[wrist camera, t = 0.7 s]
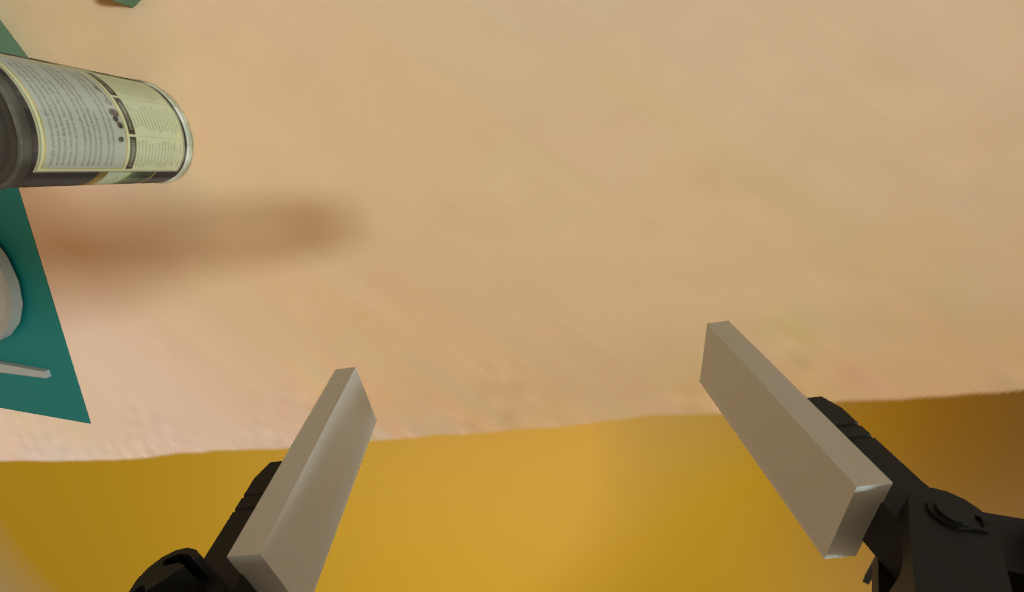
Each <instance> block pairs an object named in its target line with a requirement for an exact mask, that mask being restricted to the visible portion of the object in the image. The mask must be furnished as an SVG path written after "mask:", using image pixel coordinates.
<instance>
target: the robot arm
mask: <svg viewBox="0 0 1024 592" xmlns="http://www.w3.org/2000/svg"><path fill="white" fill-rule="evenodd" d="M700 383H701V384H702V386H703V387H704V388H705V390H706V391H707V393H708V394H709V396H710V397H711V398H712V400H713V401H714V403H715V404H716V406H717V407H718V408H719V410H720V411H721V413H722V414H723V415H724V417H725V418H726V420H727V421H728V422H729V424H730V425H731V427H732V428H733V430H734V431H735V433H736V434H737V435H738V437H739V438H740V439H741V441H742V442H743V444H744V445H745V447H746V448H747V450H748V451H749V452H750V454H751V455H752V457H753V458H754V459H755V461H756V462H757V464H758V465H759V467H760V468H761V469H762V471H763V472H764V474H765V475H766V476H767V478H768V480H769V481H770V482H771V484H772V485H773V486H774V488H775V489H776V491H777V492H778V494H779V495H780V497H781V498H782V499H783V501H784V502H785V504H786V505H787V507H788V508H789V509H790V511H791V512H792V514H793V515H794V517H795V518H796V519H797V521H798V522H799V524H800V525H801V526H802V528H803V529H804V531H805V532H806V534H807V535H808V536H809V538H810V539H811V541H812V542H813V544H814V545H815V546H816V548H817V549H818V551H819V552H820V553H821V555H822V556H823V558H824V559H829V558H839V557H847V556H856V554H857V552H858V550H859V548H860V546H861V544H862V542H863V541H864V542H865V544H866V545H867V546H868V547H869V549H870V550H871V551H872V552H873V553H874V555H875V557H874V559H873V561H872V563H871V565H870V567H869V568H868V570H867V572H866V574H865V577H864V579H863V582H865V583H867V584H869V583H870V581H871V579H872V592H1024V519H1020V518H1014V517H1008V516H1002V515H996V514H990V513H985V512H982V511H981V510H979V509H978V508H977V507H975V506H973V505H972V504H971V503H969V502H968V501H966V500H964V499H963V498H960V497H958V496H956V495H953V494H951V493H949V492H947V491H943V490H938V489H935V488H929V487H928V486H927V485H926V484H924V483H923V482H922V481H921V480H920V479H919V478H918V477H917V476H915V474H913V473H912V472H911V471H910V470H909V469H908V468H907V467H906V466H905V465H904V464H902V463H901V462H900V461H899V460H898V459H897V458H896V457H895V456H894V455H893V454H892V453H890V452H889V451H888V450H887V449H886V448H885V447H884V446H883V445H882V444H881V443H880V442H878V441H877V440H876V439H875V438H872V437H871V434H870V433H869V432H867V431H866V430H865V429H864V428H863V427H862V426H859V425H858V422H857V421H855V420H854V419H853V418H852V417H851V416H850V415H849V414H848V413H847V412H846V411H844V410H843V409H842V408H841V407H839V406H837V405H836V404H834V403H832V402H830V401H828V400H827V399H825V398H823V397H821V396H820V397H812V398H806V397H805V396H804V395H803V394H802V393H801V392H800V391H799V390H798V389H797V388H796V387H795V386H794V385H793V384H792V383H791V382H790V381H789V380H788V379H787V378H786V377H785V376H784V375H783V374H782V373H781V372H780V371H779V370H778V369H777V368H776V367H775V366H774V365H773V364H772V363H771V362H770V361H769V360H768V359H767V358H766V357H765V356H764V355H763V354H762V353H761V352H760V351H759V350H758V349H757V348H756V347H755V346H754V345H753V344H751V343H750V342H749V341H748V340H747V339H746V338H745V337H744V336H743V335H742V334H741V333H740V332H739V331H738V330H737V329H736V328H735V327H734V326H733V325H732V324H731V323H730V322H729V321H723V322H715V323H707V330H706V338H705V346H704V353H703V361H702V369H701V376H700ZM376 421H377V420H376V418H375V415H374V413H373V410H372V407H371V405H370V402H369V400H368V397H367V395H366V392H365V390H364V387H363V385H362V382H361V380H360V377H359V375H358V372H357V370H356V367H353V368H345V369H337V370H335V371H334V373H333V375H332V377H331V378H330V380H329V382H328V384H327V385H326V387H325V389H324V390H323V392H322V394H321V396H320V397H319V399H318V401H317V402H316V404H315V406H314V408H313V409H312V411H311V413H310V414H309V416H308V418H307V420H306V421H305V423H304V425H303V427H302V428H301V430H300V432H299V433H298V435H297V437H296V439H295V440H294V442H293V444H292V445H291V447H290V449H289V451H288V452H287V454H286V456H285V457H284V459H283V461H278V462H271V463H269V464H268V465H267V466H266V467H265V468H264V469H263V470H262V471H261V472H260V473H259V474H258V475H257V476H256V477H255V478H254V480H253V481H252V483H251V485H250V486H249V488H248V489H247V491H246V492H245V494H244V498H242V499H241V500H240V502H239V504H238V505H237V507H236V508H235V512H233V513H232V515H231V516H230V518H229V520H228V521H227V523H226V524H225V526H224V527H223V529H222V531H221V532H220V534H219V535H218V537H217V539H216V540H215V542H214V543H213V545H212V547H211V548H210V550H209V551H208V553H207V555H206V556H205V558H203V557H202V556H201V555H200V554H199V553H198V551H197V550H195V549H191V548H184V549H180V550H176V551H174V552H172V553H170V554H168V555H166V556H164V557H162V558H161V559H160V560H158V561H157V562H155V563H154V564H153V565H151V566H150V567H149V568H148V569H147V570H146V571H145V572H144V573H143V574H142V575H141V576H140V577H139V578H138V579H137V581H136V582H135V584H134V585H133V587H132V588H131V590H130V591H129V592H314V591H315V588H316V585H317V582H318V580H319V577H320V574H321V571H322V569H323V566H324V563H325V561H326V558H327V555H328V552H329V550H330V547H331V544H332V541H333V539H334V536H335V533H336V530H337V528H338V525H339V522H340V520H341V517H342V514H343V511H344V509H345V506H346V503H347V500H348V498H349V495H350V492H351V489H352V487H353V484H354V481H355V479H356V476H357V473H358V470H359V468H360V465H361V462H362V459H363V457H364V454H365V451H366V448H367V446H368V443H369V440H370V438H371V435H372V432H373V429H374V427H375V424H376Z"/></svg>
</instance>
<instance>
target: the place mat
mask: <svg viewBox="0 0 1024 592" xmlns="http://www.w3.org/2000/svg"><path fill="white" fill-rule="evenodd" d="M0 408H5V409H11V410H16V411H22V412H28V413H33V414H39V415H45V416H50V417H56V418H62V419H67V420H73V421H79V422H84V423H90V424H91V422H90V419H89V416H88V412H87V409H86V406H85V403H84V399H83V396H82V393H81V390H80V386H79V383H78V380H77V377H76V374H75V370H74V367H73V364H72V361H71V357H70V354H69V351H68V348H67V344H66V341H65V338H64V335H63V331H62V328H61V325H60V322H59V318H58V315H57V312H56V309H55V305H54V302H53V299H52V296H51V292H50V289H49V286H48V283H47V279H46V276H45V273H44V270H43V266H42V263H41V260H40V257H39V253H38V250H37V247H36V244H35V240H34V237H33V234H32V231H31V227H30V224H29V221H28V218H27V214H26V211H25V208H24V205H23V201H22V198H21V195H20V192H19V188H18V187H17V188H6V189H0Z"/></svg>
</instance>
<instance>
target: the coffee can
mask: <svg viewBox="0 0 1024 592" xmlns="http://www.w3.org/2000/svg"><path fill="white" fill-rule="evenodd" d="M192 152H193V142H192V135H191V131H190V129H189V125H188V122H187V120H186V118H185V116H184V114H183V112H182V111H181V109H180V108H179V106H178V105H177V104H176V103H175V101H174V100H173V99H172V98H171V97H170V96H169V95H168V94H166V93H165V92H164V91H163V90H161V89H160V88H158V87H157V86H155V85H153V84H151V83H149V82H145V81H142V80H133V79H128V78H123V77H118V76H113V75H109V74H104V73H99V72H94V71H90V70H85V69H81V68H76V67H71V66H66V65H62V64H57V63H52V62H47V61H42V60H37V59H33V58H28V57H23V56H18V55H13V54H8V53H4V52H0V189H6V188H17V187H43V186H74V185H102V184H132V183H169V182H172V181H175V180H177V179H178V178H180V177H181V176H182V175H183V174H184V173H185V172H186V170H187V169H188V167H189V165H190V162H191V159H192Z"/></svg>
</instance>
